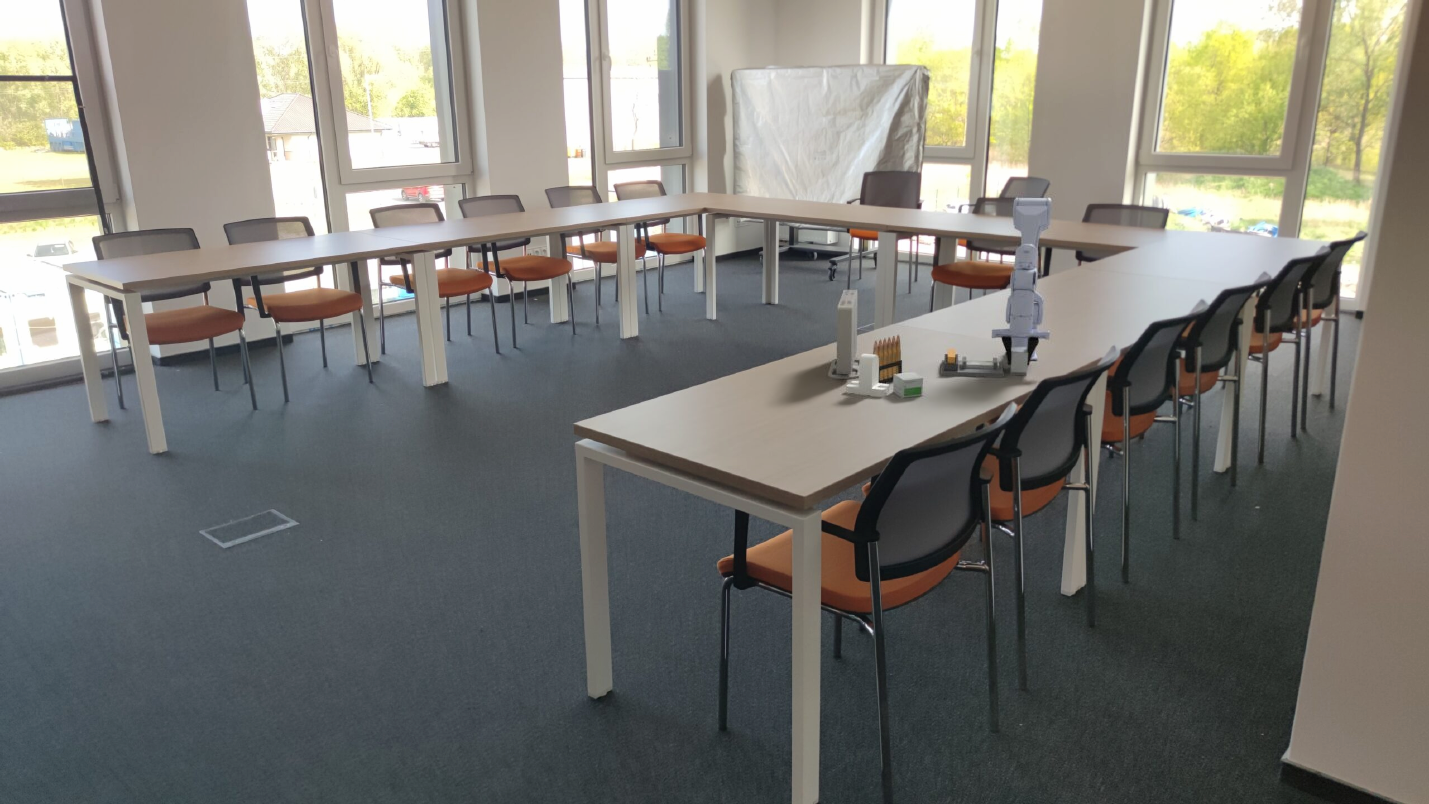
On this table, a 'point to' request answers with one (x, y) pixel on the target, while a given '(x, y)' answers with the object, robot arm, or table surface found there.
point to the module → (1019, 360)
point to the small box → (908, 384)
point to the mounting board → (974, 371)
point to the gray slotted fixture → (969, 364)
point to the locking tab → (951, 356)
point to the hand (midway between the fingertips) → (1018, 364)
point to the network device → (846, 337)
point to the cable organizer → (868, 378)
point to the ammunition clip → (888, 359)
